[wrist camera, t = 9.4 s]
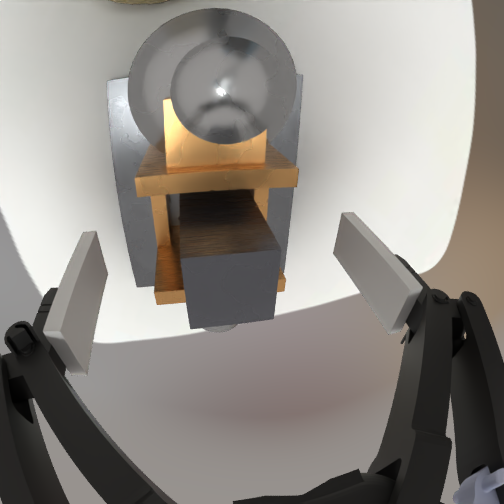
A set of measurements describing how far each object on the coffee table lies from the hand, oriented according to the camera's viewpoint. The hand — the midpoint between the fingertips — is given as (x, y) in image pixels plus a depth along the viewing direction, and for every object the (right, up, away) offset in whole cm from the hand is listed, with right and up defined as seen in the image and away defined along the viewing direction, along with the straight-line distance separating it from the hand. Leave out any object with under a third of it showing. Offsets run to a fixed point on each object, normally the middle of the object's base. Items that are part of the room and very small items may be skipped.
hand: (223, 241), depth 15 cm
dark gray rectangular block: (-2, +4, +7) cm, 9 cm away
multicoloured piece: (-2, +6, +7) cm, 10 cm away
